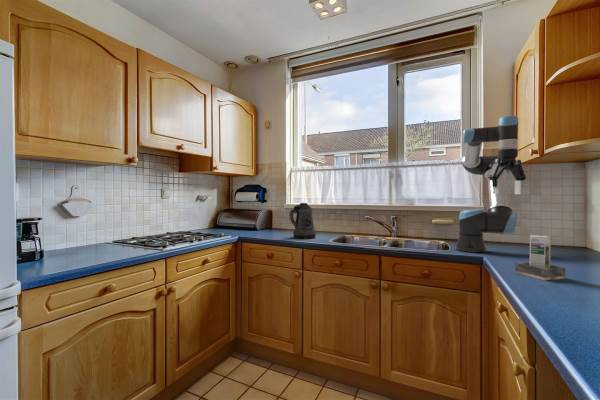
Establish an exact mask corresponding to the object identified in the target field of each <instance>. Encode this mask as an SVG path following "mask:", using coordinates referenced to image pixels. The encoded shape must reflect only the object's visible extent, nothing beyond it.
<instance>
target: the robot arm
mask: <svg viewBox="0 0 600 400" xmlns="http://www.w3.org/2000/svg"><path fill="white" fill-rule="evenodd" d="M518 137H519V118H518V116H517V115H507V116H506V115H505V116H503V117H502V116H501V117H500V118H499V119H498V126H488V127H487V126H486V127H476V128H473V127H471V128H467V129H466V128H465V129H464V130H463V132H462V143H463V144H465V153H464V156H463V158H462V162H461V164H462V167H463V168H464V170H466V171H467V172H468V173H469V174H472V175H476V176H478V175H479V176H482V175H483V176H484V177H485V179H487V186H488V187H487V188H488V197H489V208H487V210H486V211H484V209H483V208H480V209H467V210H466V209H465V210H461V211H460V212H459V218H458V220H459V223H458V224H459V225H458V238H457V241H456V244H455V246H454V247H455V250H456V249H457V250H456V251H459V250H461V251H460V252H464V251H468V252H467V253H472V252H485V253H487V246H486V243H485V241H484V233H486V234H501V235H502V234H503V235H512V234H513V233H515V232H516V231H515V230H516V226H517V221H518V220H517V219H518V218H517V217H518V215H517V212H513V209H512V207H509V202H508V193H507V184H506V177H507V176H508V175H509V174H510V173H511V174H512V176H513V177H514V179H515V181H514V195H522V188H523V182H524V181H525V180H526V179H527V177H526V173H525V171H524V169H523V166H522V160H521V159H516V158H518V155H519V154H518V153H519V150H518V148H519V146H518V144H519V138H518ZM490 142H491V143H493V142H497V143H498V144H497V146H498V147H497V149H498V150H497V151H498V152H497V155H484V156H483V155H482V156H480V155H481V151H482V146H483V143H490Z"/></svg>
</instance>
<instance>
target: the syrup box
mask: <svg viewBox="0 0 600 400" xmlns="http://www.w3.org/2000/svg"><path fill="white" fill-rule="evenodd" d="M551 239H552V237H551V235H542V234H541V235H540V234H530V235H529V262H530V266H534V267H538V268H543V269H546V268H550V265H551V241H552V240H551Z"/></svg>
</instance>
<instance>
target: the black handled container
mask: <svg viewBox="0 0 600 400" xmlns="http://www.w3.org/2000/svg"><path fill="white" fill-rule="evenodd" d="M313 211H314V209H313V208H312V207H311V206H310V205H308V203H307V202H300V204H298V205H294V206H293V209H291V210H290V212H289V221H290V222H291V224H292V225H293V226H294V230H293V234H292V235H293V238H295V239H301V240H310V239H311V240H312V239H313V240H314V239H315V238H316V235H317V232H316V230H315V225H314V220H313V219H314V218H313ZM294 214H296V217H295V219H294Z"/></svg>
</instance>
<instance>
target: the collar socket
mask: <svg viewBox="0 0 600 400" xmlns="http://www.w3.org/2000/svg"><path fill="white" fill-rule="evenodd" d="M514 264H515V266H514V267H515V268H514V269H515V270H514V273H515V274H517V275H522V276H525V277H529V278H533V279H538V280H541V281H554V280H564V279H565V280H566V267H564V266H563V267H562V266H557V265H553V264H550V268H546V269H543V268H538V267H534V266H530V261H525V262H523V261H522V262H515V263H514Z"/></svg>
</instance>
